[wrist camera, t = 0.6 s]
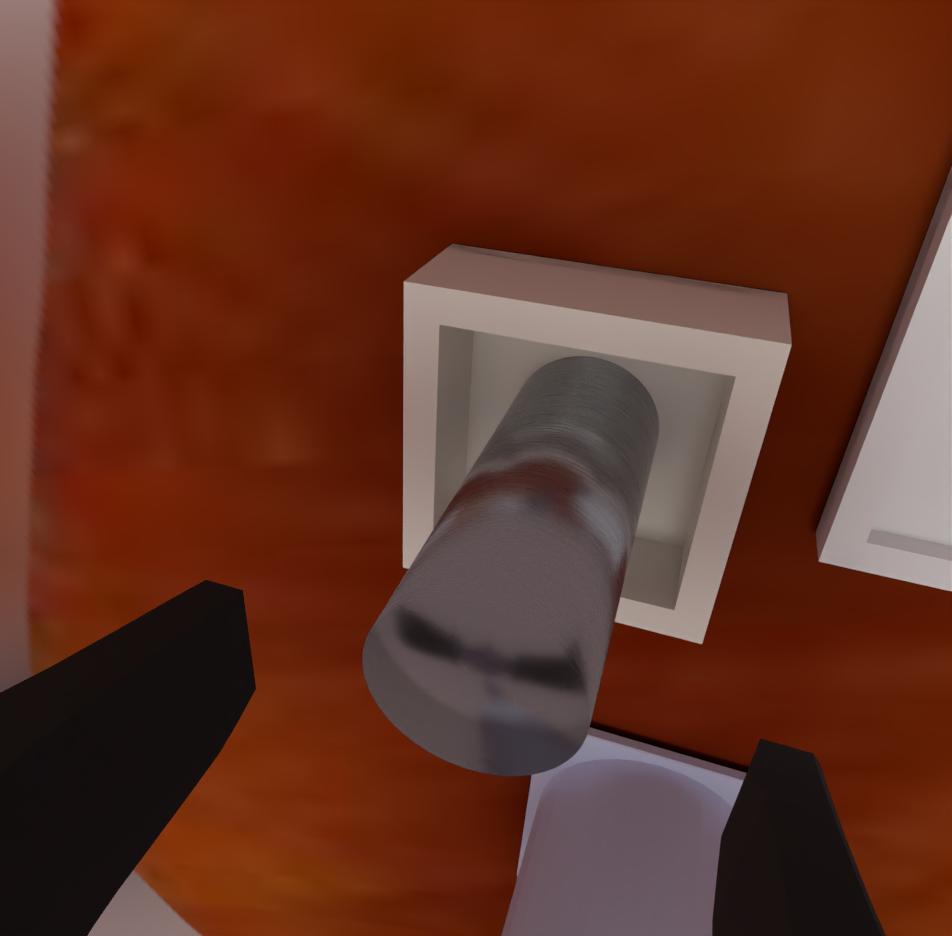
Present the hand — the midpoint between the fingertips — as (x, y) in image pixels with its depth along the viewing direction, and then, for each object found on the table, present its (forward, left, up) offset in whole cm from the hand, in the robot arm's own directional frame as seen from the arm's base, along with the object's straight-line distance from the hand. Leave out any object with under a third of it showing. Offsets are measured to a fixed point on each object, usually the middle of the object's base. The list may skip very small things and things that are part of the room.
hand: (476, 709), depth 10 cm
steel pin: (-1, 0, -10) cm, 10 cm away
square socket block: (-1, 0, -10) cm, 10 cm away
